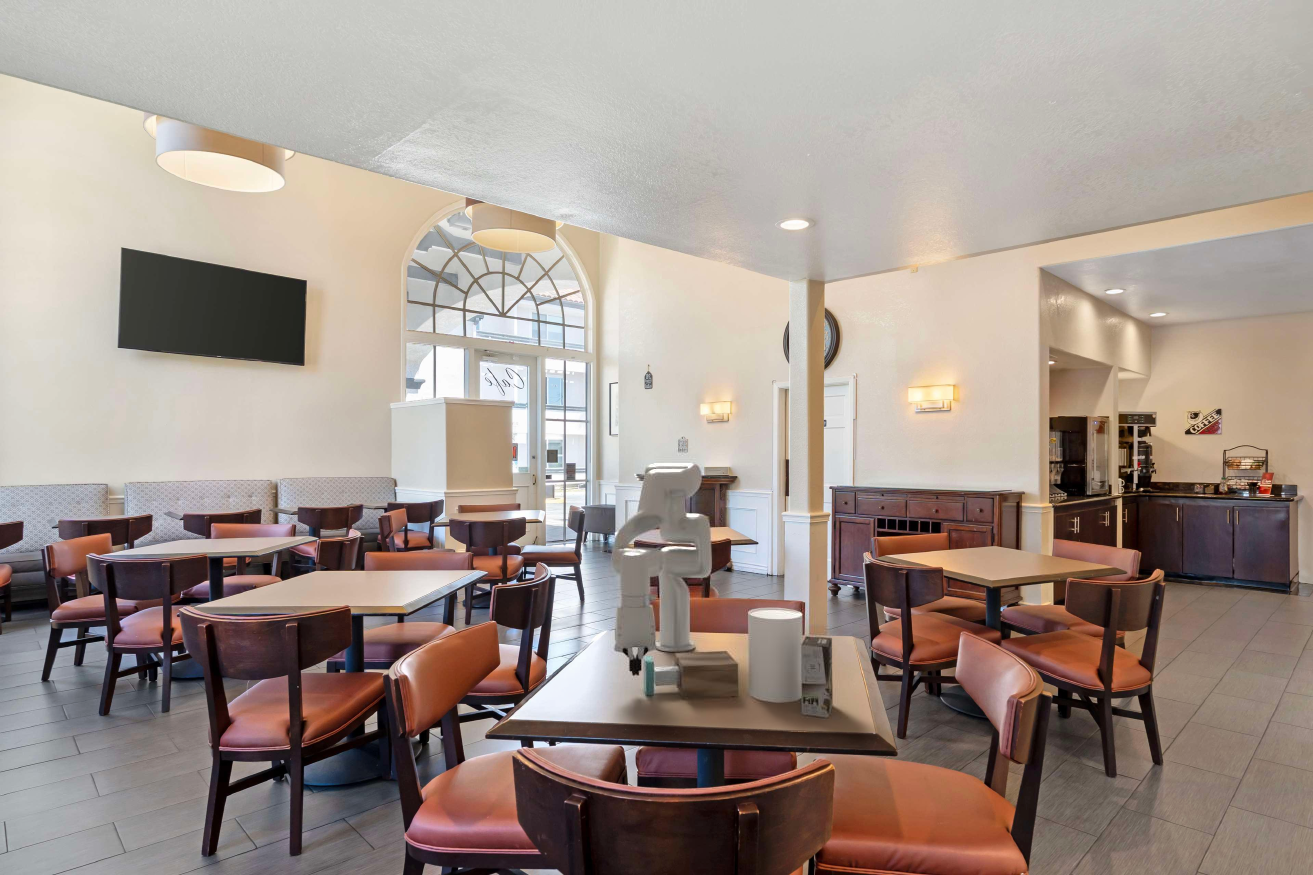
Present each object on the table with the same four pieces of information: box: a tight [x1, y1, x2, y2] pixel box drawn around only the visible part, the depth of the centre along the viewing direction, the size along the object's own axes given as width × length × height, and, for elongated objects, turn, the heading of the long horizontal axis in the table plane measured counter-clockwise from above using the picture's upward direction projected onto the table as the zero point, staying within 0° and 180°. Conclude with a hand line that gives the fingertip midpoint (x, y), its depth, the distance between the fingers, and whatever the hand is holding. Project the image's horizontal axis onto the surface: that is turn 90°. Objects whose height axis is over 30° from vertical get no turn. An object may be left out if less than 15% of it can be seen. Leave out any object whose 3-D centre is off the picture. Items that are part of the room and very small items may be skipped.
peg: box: [643, 656, 680, 696], centre depth 175 cm, size 5×14×8 cm, turn 98°
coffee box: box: [801, 635, 834, 719], centre depth 162 cm, size 9×6×16 cm
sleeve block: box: [674, 650, 739, 700], centre depth 176 cm, size 12×14×8 cm
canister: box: [747, 607, 804, 703], centre depth 174 cm, size 14×14×20 cm
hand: (635, 673), depth 174 cm, fingers closed
